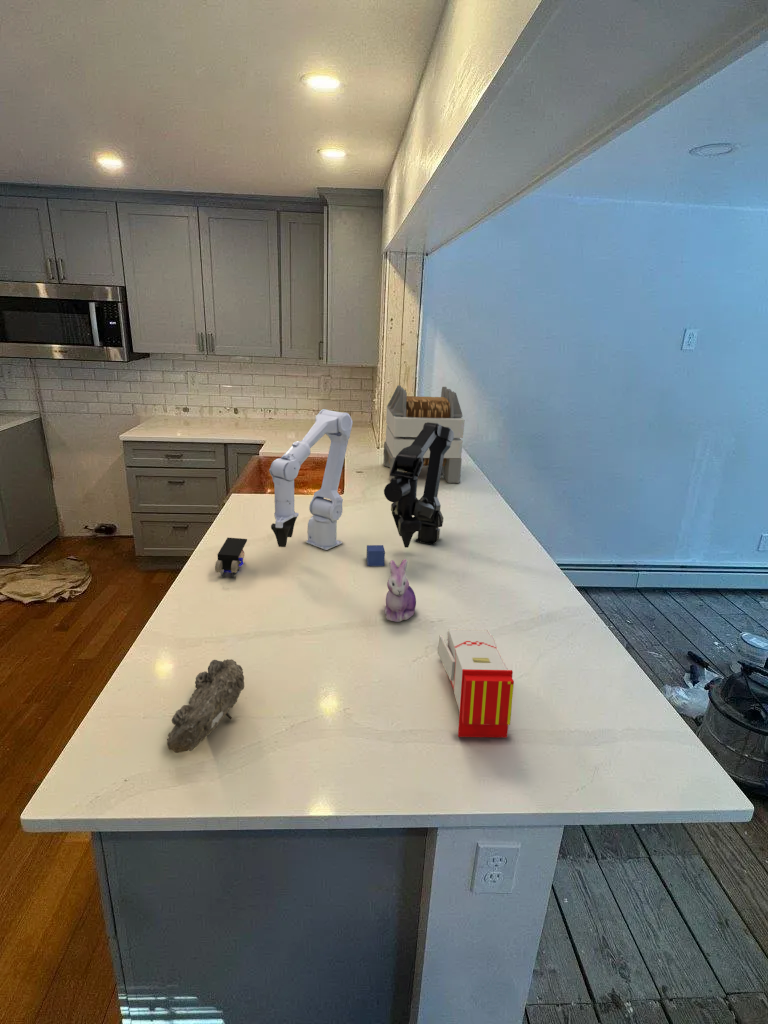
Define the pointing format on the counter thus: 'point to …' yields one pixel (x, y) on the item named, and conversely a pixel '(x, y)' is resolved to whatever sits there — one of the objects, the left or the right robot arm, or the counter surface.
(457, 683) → the toy
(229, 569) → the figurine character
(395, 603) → the figurine
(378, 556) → the blue cube
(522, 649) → the counter surface
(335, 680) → the counter surface
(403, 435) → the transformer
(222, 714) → the fossil
